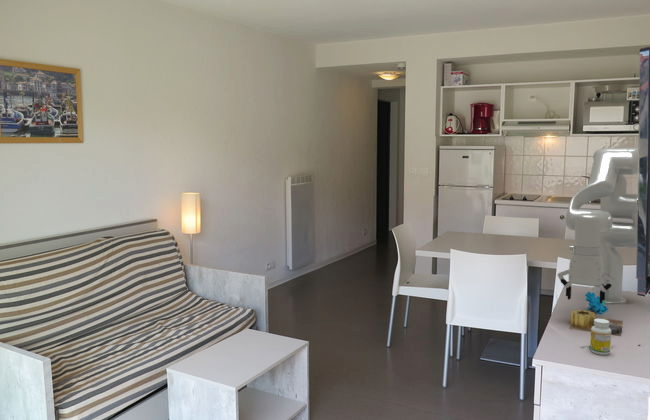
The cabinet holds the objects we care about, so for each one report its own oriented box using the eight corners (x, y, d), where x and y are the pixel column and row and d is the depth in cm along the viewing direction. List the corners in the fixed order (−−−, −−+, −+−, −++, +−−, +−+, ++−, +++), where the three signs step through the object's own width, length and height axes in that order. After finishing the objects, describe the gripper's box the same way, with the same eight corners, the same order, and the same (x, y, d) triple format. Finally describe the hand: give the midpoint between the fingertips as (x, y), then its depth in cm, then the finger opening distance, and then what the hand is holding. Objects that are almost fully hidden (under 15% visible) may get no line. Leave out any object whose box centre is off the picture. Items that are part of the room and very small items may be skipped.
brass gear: (566, 321, 183) (567, 309, 182) (587, 320, 183) (588, 309, 183) (577, 328, 175) (577, 316, 175) (599, 327, 176) (599, 316, 175)
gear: (600, 315, 187) (583, 291, 193) (587, 323, 191) (571, 299, 196) (616, 313, 194) (598, 290, 199) (603, 321, 197) (586, 298, 203)
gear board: (574, 317, 190) (575, 304, 189) (623, 324, 182) (623, 310, 182) (569, 332, 176) (569, 318, 175) (621, 339, 168) (621, 325, 167)
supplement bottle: (607, 356, 155) (609, 324, 154) (587, 352, 158) (589, 321, 157) (612, 351, 159) (613, 320, 158) (592, 347, 162) (594, 316, 161)
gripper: (556, 250, 177) (555, 300, 180) (615, 255, 169) (613, 307, 171) (560, 246, 184) (558, 294, 186) (616, 250, 175) (614, 300, 177)
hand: (584, 300), depth 179 cm, fingers open, 9 cm apart
